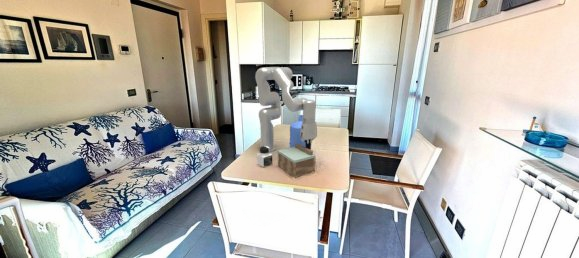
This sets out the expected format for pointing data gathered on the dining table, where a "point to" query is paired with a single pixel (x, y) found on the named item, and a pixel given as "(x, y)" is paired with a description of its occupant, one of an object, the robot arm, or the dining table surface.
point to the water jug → (296, 133)
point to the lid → (297, 153)
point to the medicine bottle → (264, 157)
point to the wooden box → (296, 166)
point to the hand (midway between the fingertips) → (308, 148)
